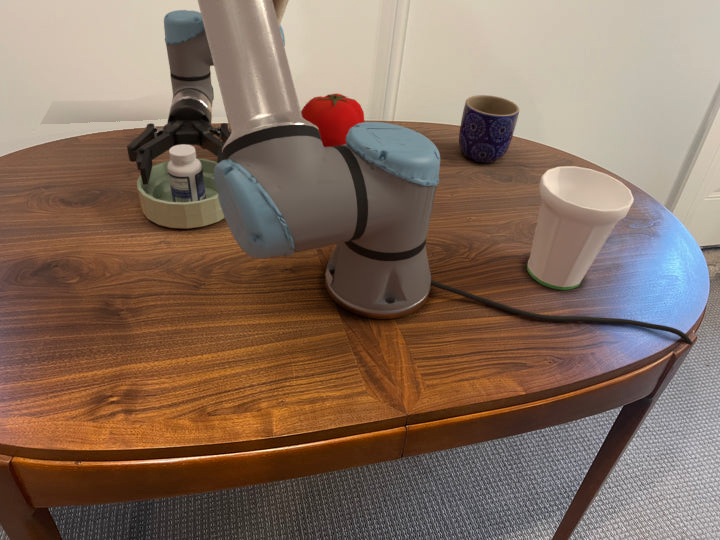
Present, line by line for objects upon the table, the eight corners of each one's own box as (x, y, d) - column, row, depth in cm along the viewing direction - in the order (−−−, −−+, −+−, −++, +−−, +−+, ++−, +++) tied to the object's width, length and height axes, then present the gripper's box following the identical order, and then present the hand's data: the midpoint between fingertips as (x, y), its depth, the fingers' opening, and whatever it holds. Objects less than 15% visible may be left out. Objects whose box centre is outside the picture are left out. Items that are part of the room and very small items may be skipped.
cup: (546, 306, 77) (581, 217, 68) (498, 256, 86) (523, 171, 76) (612, 290, 81) (654, 203, 72) (560, 243, 90) (591, 161, 81)
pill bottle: (197, 191, 93) (190, 139, 87) (212, 205, 90) (206, 152, 84) (167, 200, 90) (158, 146, 84) (181, 214, 87) (173, 160, 81)
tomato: (368, 162, 108) (374, 107, 101) (302, 165, 105) (303, 108, 98) (355, 136, 117) (359, 84, 110) (294, 138, 114) (294, 84, 107)
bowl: (254, 203, 93) (253, 177, 90) (186, 242, 82) (182, 215, 79) (193, 174, 99) (190, 149, 96) (122, 207, 89) (116, 181, 85)
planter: (459, 140, 119) (469, 91, 112) (508, 150, 117) (522, 100, 110) (450, 161, 111) (461, 109, 104) (503, 172, 109) (517, 120, 102)
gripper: (254, 136, 104) (259, 194, 87) (128, 137, 99) (107, 199, 83) (252, 98, 99) (257, 152, 82) (120, 97, 95) (96, 154, 78)
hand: (182, 175), depth 83 cm, fingers open, 11 cm apart
